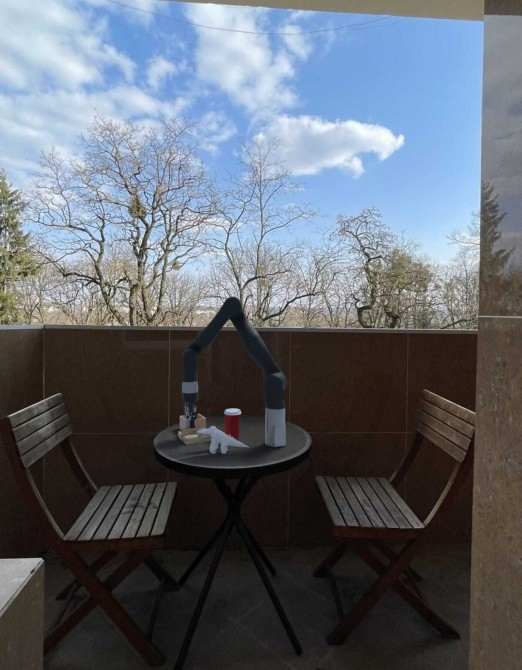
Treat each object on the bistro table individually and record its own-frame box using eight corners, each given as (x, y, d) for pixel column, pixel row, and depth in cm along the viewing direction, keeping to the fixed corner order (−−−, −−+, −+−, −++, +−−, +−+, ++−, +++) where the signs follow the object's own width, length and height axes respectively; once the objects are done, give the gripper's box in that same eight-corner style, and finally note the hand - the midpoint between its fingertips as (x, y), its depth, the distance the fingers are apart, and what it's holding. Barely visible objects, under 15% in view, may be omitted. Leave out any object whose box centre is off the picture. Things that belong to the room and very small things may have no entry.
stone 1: (196, 427, 170) (196, 419, 170) (187, 428, 168) (187, 420, 168) (193, 425, 174) (193, 417, 174) (184, 426, 171) (184, 418, 171)
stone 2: (208, 438, 173) (208, 429, 173) (199, 439, 171) (199, 431, 171) (204, 435, 177) (204, 427, 177) (196, 437, 175) (196, 428, 175)
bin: (205, 433, 185) (205, 418, 185) (185, 436, 180) (185, 420, 180) (198, 427, 194) (199, 413, 194) (179, 430, 189) (179, 415, 189)
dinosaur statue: (197, 446, 161) (199, 422, 161) (249, 454, 159) (252, 429, 159) (192, 452, 155) (195, 426, 154) (247, 460, 152) (250, 434, 152)
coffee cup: (243, 439, 175) (243, 408, 175) (237, 444, 167) (238, 412, 167) (227, 437, 177) (227, 407, 177) (221, 443, 169) (221, 411, 169)
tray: (215, 442, 170) (215, 435, 170) (186, 447, 163) (186, 439, 163) (204, 434, 182) (204, 427, 182) (177, 438, 176) (177, 431, 176)
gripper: (203, 392, 166) (203, 429, 166) (192, 388, 178) (193, 422, 179) (187, 394, 162) (187, 431, 163) (178, 389, 175) (178, 424, 175)
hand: (190, 426), depth 171 cm, fingers closed on stone 1, 4 cm apart
